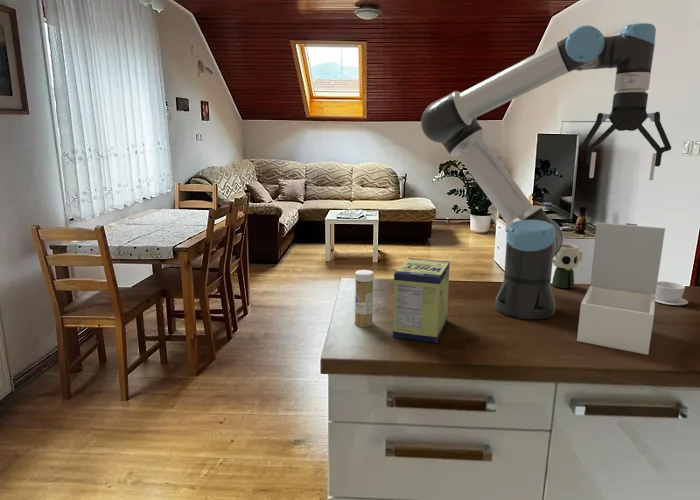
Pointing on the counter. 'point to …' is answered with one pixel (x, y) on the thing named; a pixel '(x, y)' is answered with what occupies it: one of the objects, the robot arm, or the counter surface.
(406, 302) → the protein box
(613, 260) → the lid flap
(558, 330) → the counter surface
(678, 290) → the teacup
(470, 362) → the counter surface
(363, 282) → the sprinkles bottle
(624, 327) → the carton
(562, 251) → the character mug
